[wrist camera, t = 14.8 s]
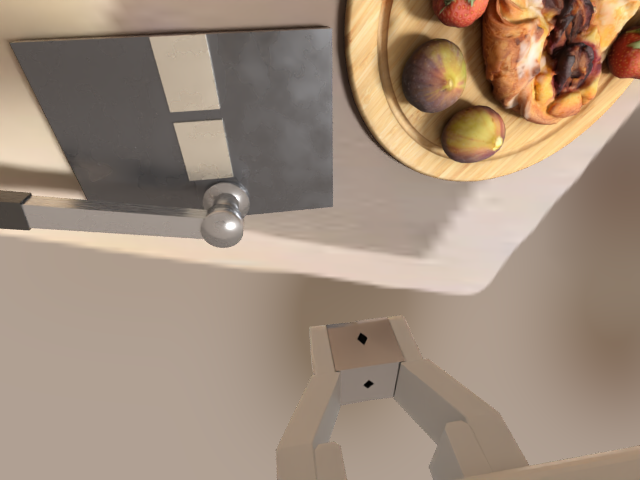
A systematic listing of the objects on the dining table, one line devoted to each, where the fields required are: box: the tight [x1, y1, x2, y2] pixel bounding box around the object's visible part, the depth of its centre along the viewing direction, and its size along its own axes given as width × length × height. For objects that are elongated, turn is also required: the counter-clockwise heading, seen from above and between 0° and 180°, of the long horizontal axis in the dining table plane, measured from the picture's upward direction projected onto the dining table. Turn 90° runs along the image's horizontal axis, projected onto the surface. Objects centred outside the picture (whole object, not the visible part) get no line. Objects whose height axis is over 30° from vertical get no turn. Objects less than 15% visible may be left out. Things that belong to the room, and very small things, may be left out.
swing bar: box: [0, 190, 244, 248], centre depth 32 cm, size 21×4×2 cm, turn 79°
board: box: [10, 27, 333, 218], centre depth 33 cm, size 18×26×5 cm
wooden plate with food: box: [344, 0, 640, 181], centre depth 30 cm, size 32×32×8 cm
